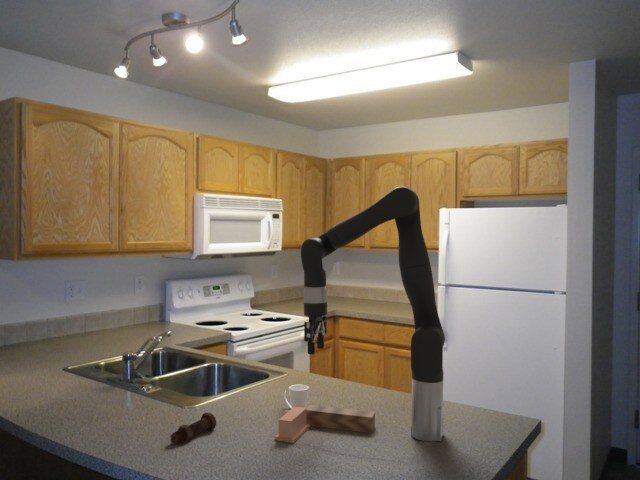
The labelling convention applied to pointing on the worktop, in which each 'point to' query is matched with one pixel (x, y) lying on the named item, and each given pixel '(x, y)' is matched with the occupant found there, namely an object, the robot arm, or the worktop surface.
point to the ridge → (292, 425)
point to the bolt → (194, 428)
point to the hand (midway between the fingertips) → (316, 351)
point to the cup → (297, 395)
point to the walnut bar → (340, 418)
